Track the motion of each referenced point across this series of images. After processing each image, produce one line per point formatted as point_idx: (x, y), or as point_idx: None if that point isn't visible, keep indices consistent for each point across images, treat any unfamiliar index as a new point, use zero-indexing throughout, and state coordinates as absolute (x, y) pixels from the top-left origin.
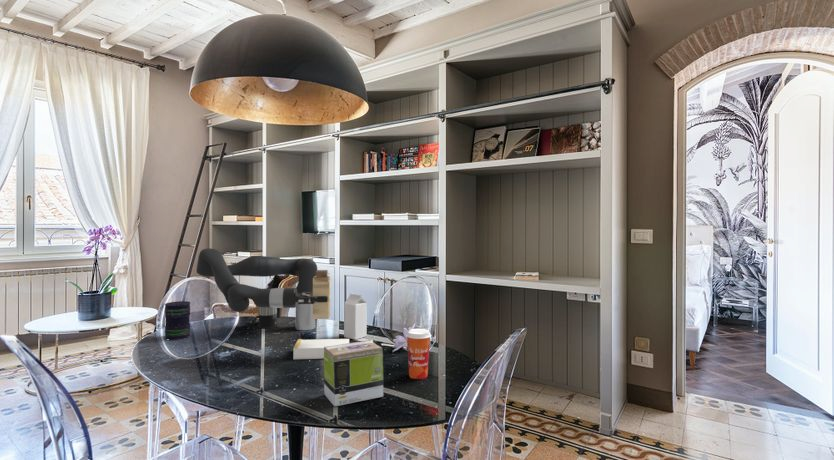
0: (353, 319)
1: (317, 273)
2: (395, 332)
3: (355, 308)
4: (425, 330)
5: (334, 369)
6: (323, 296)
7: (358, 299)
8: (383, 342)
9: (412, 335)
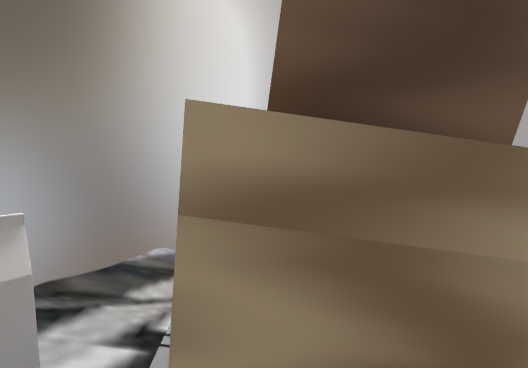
0: (19, 344)
1: (513, 49)
2: (63, 282)
3: (32, 287)
4: None
5: None
6: None
7: (14, 239)
8: (149, 323)
9: None
